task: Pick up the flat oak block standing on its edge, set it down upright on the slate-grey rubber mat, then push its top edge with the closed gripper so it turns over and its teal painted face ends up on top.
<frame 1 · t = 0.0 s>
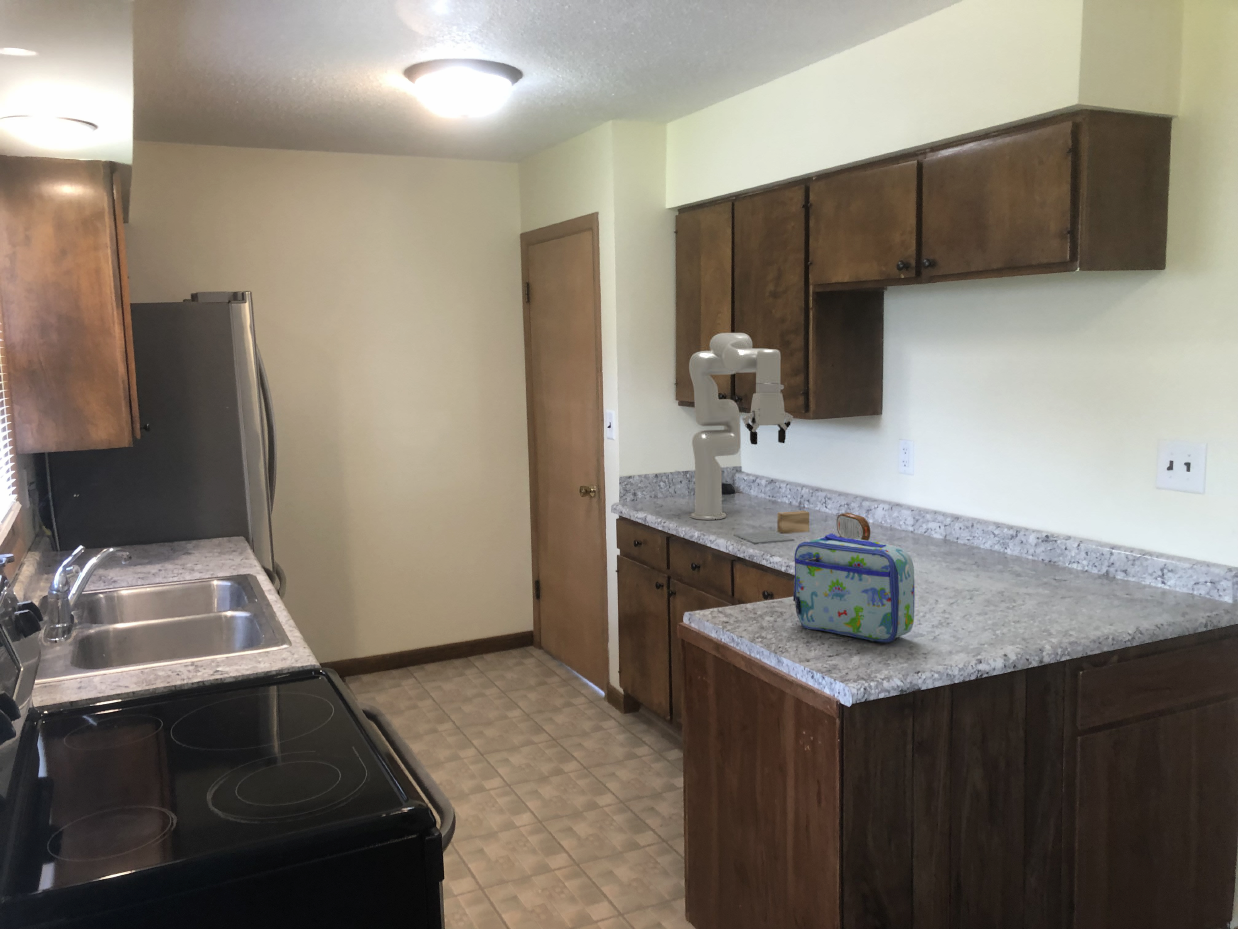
hand: (767, 443, 301), 31 cm above the worktop, tool pointing down, fingers open, 9 cm apart
block: (793, 531, 320), on the worktop
mat: (763, 537, 310), on the worktop
lunch box: (850, 633, 209), on the worktop
tin: (852, 541, 304), on the worktop
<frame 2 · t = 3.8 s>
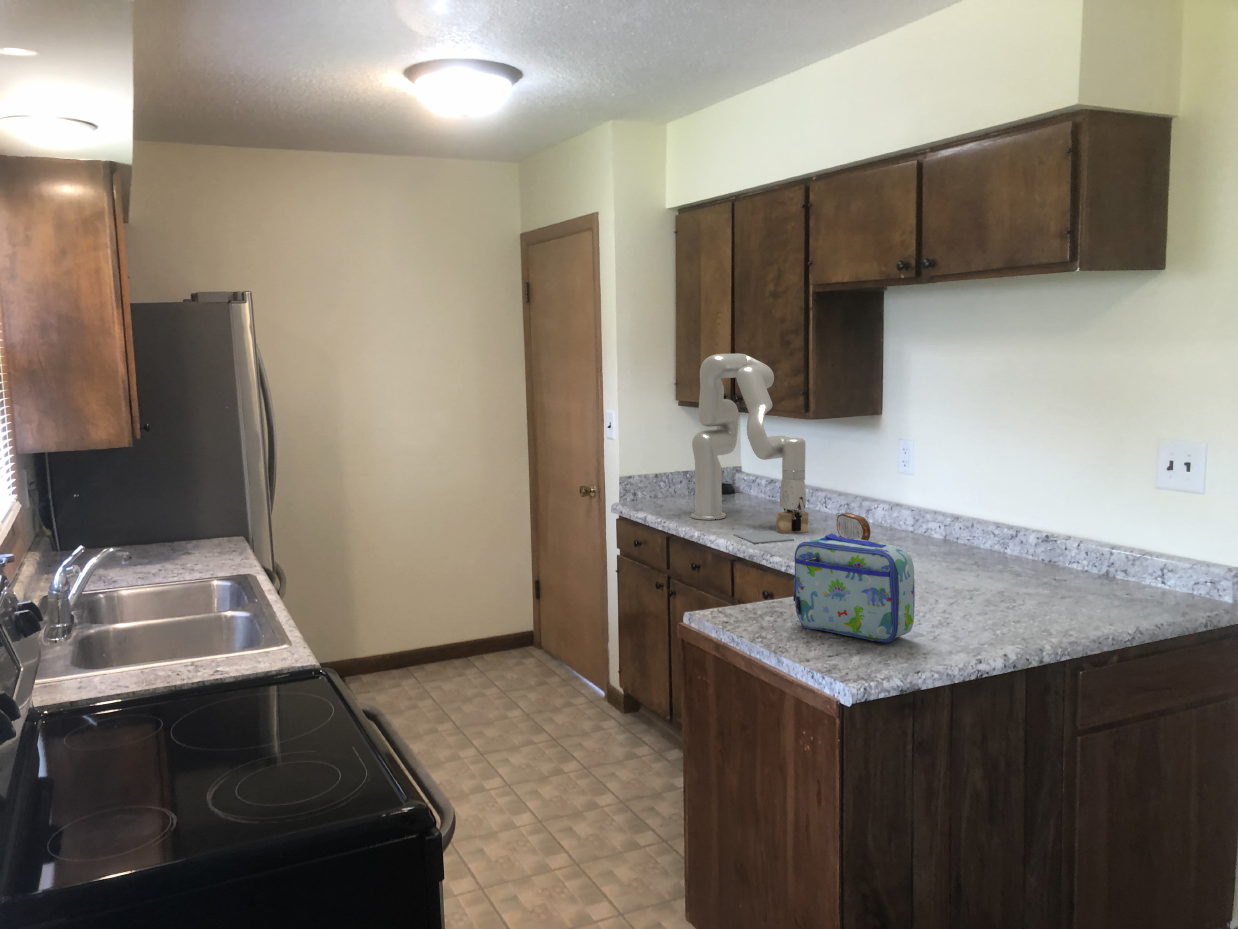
hand: (793, 529, 320), 1 cm above the worktop, tool pointing down, fingers closed on block, 3 cm apart
block: (792, 531, 319), on the worktop, touching gripper
everything else where it was.
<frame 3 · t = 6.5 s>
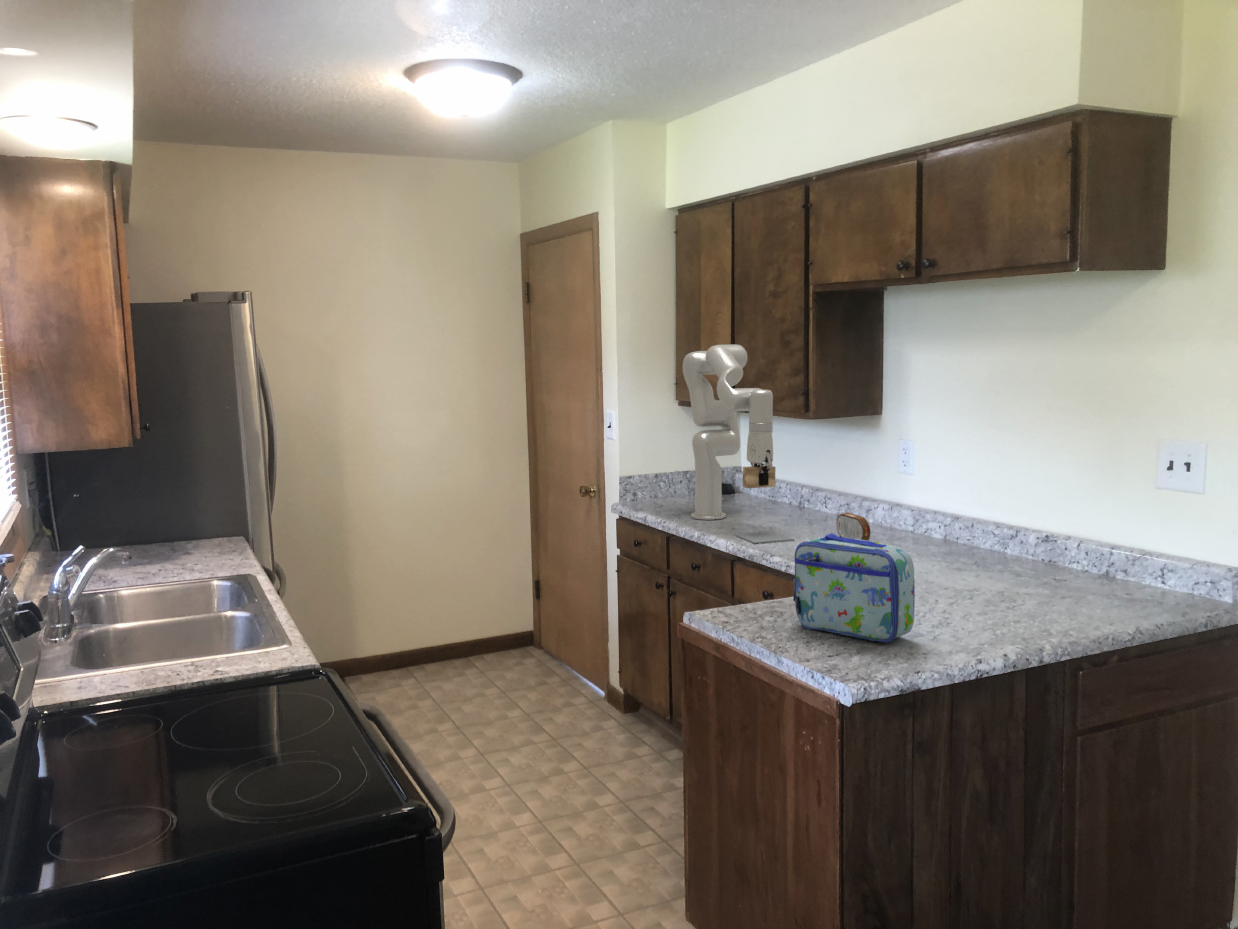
hand: (760, 483, 311), 17 cm above the worktop, tool pointing down, fingers closed on block, 3 cm apart
block: (758, 486, 311), point 16 cm above the worktop, touching gripper
everything else where it was.
when the fingers open (2 cm above the worktop, at t = 9.7 s): block stays where it is, resting on mat.
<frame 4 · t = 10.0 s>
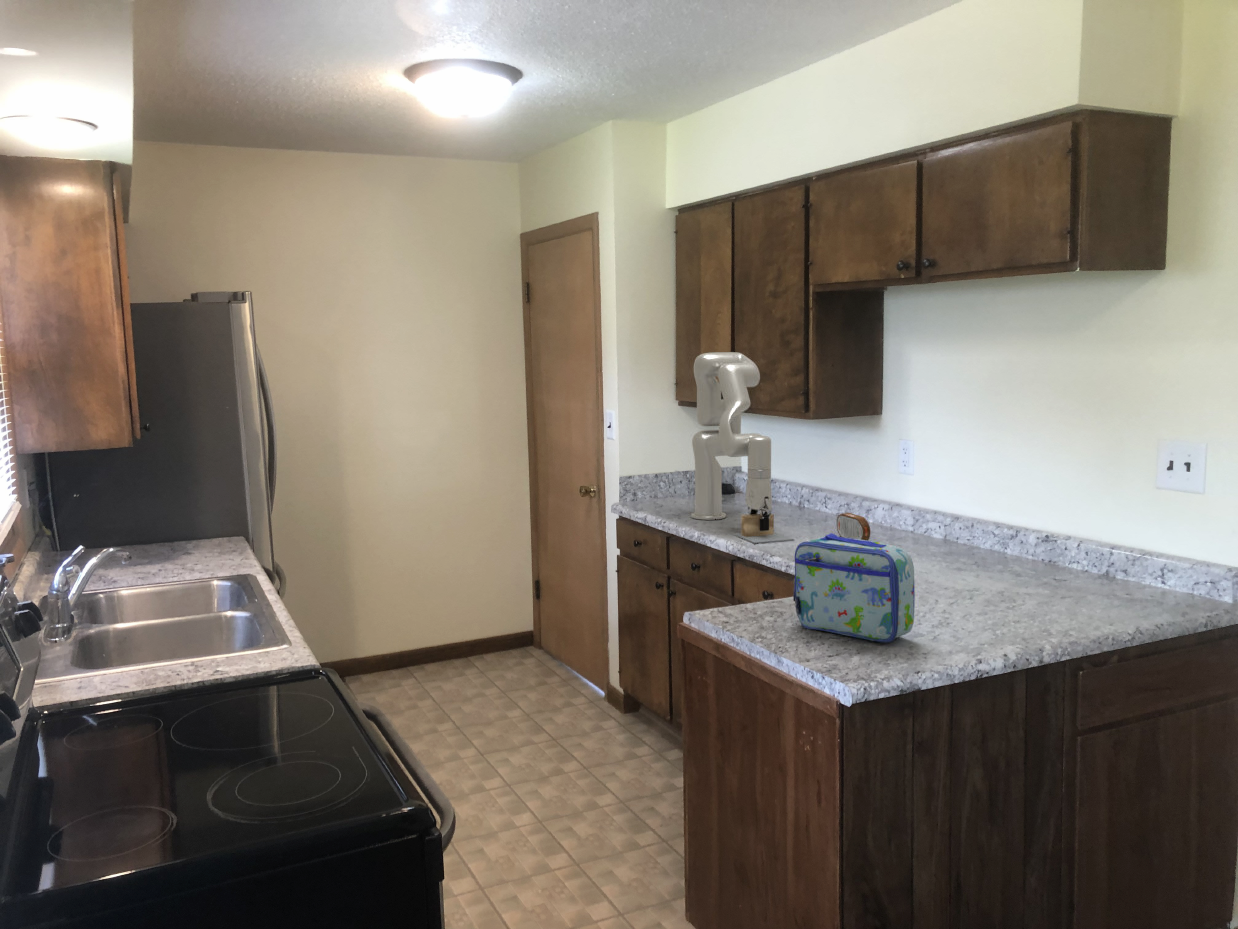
hand: (759, 528, 312), 3 cm above the worktop, tool pointing down, fingers open, 6 cm apart
block: (757, 534, 313), resting on mat
everything else where it was.
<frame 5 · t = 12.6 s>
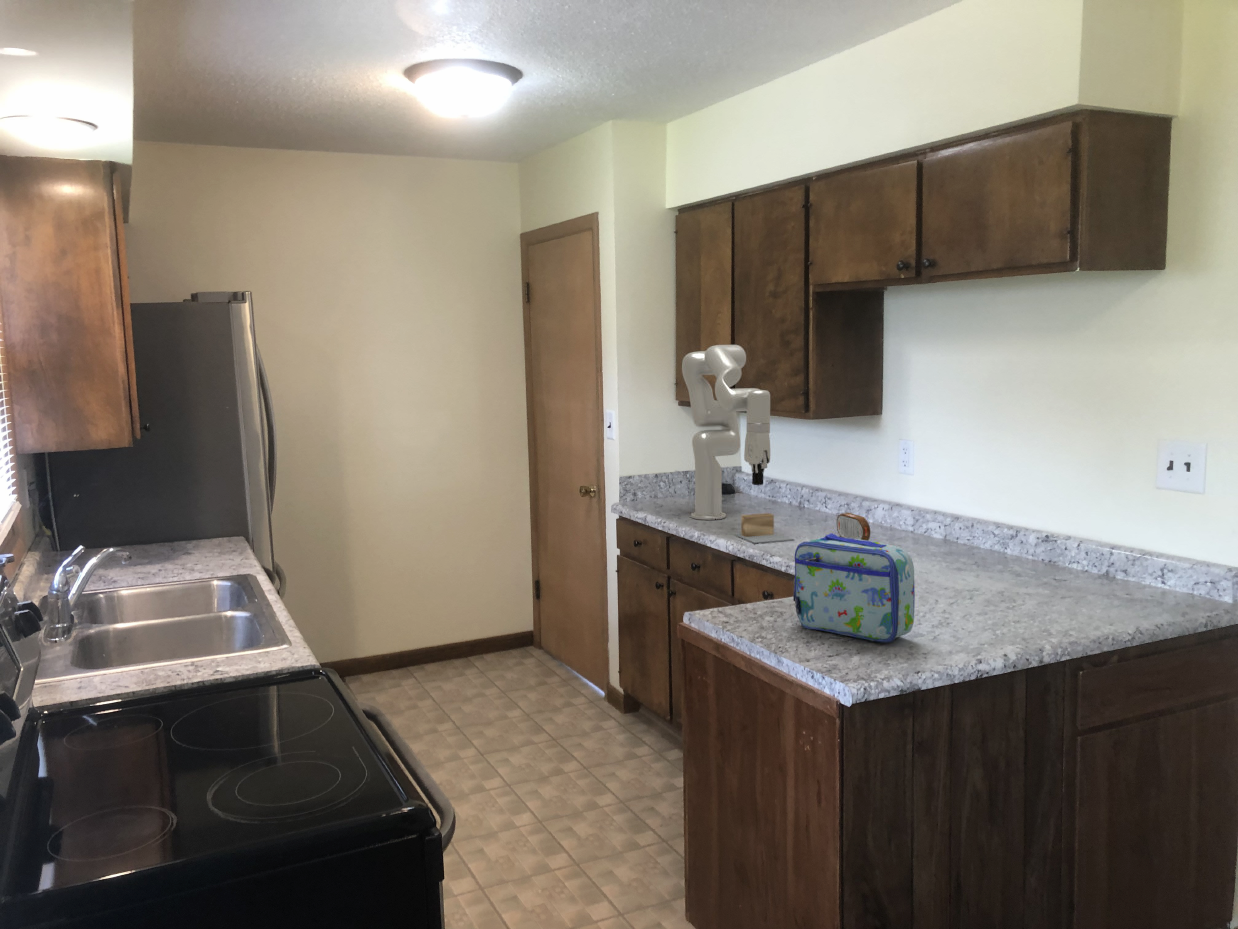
hand: (757, 484, 312), 17 cm above the worktop, tool pointing down, fingers closed
nothing on the worktop moved.
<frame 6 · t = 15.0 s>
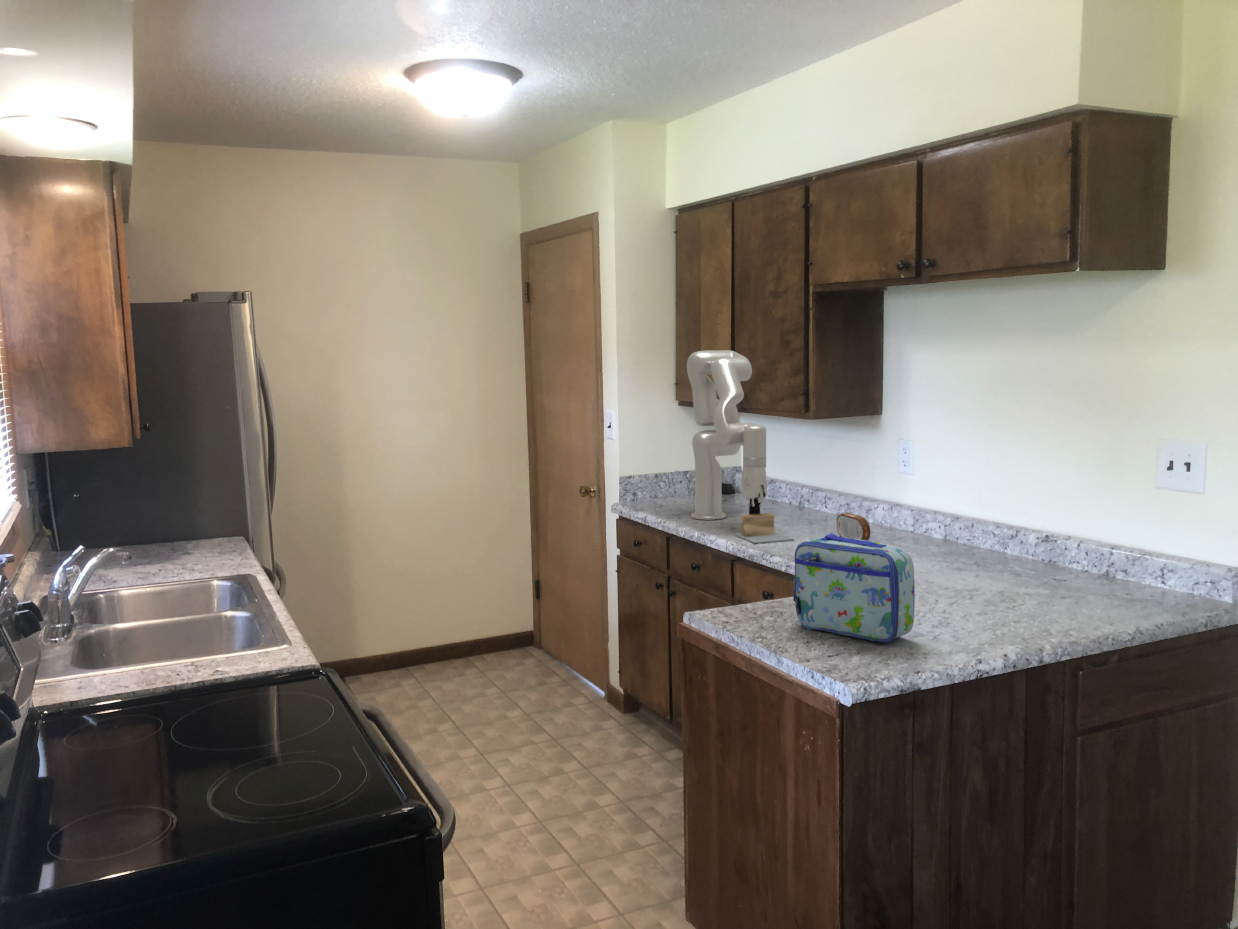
hand: (754, 518, 315), 5 cm above the worktop, tool pointing down, fingers closed
block: (757, 534, 313), point 1 cm above the worktop, touching gripper, mat
everything else where it was.
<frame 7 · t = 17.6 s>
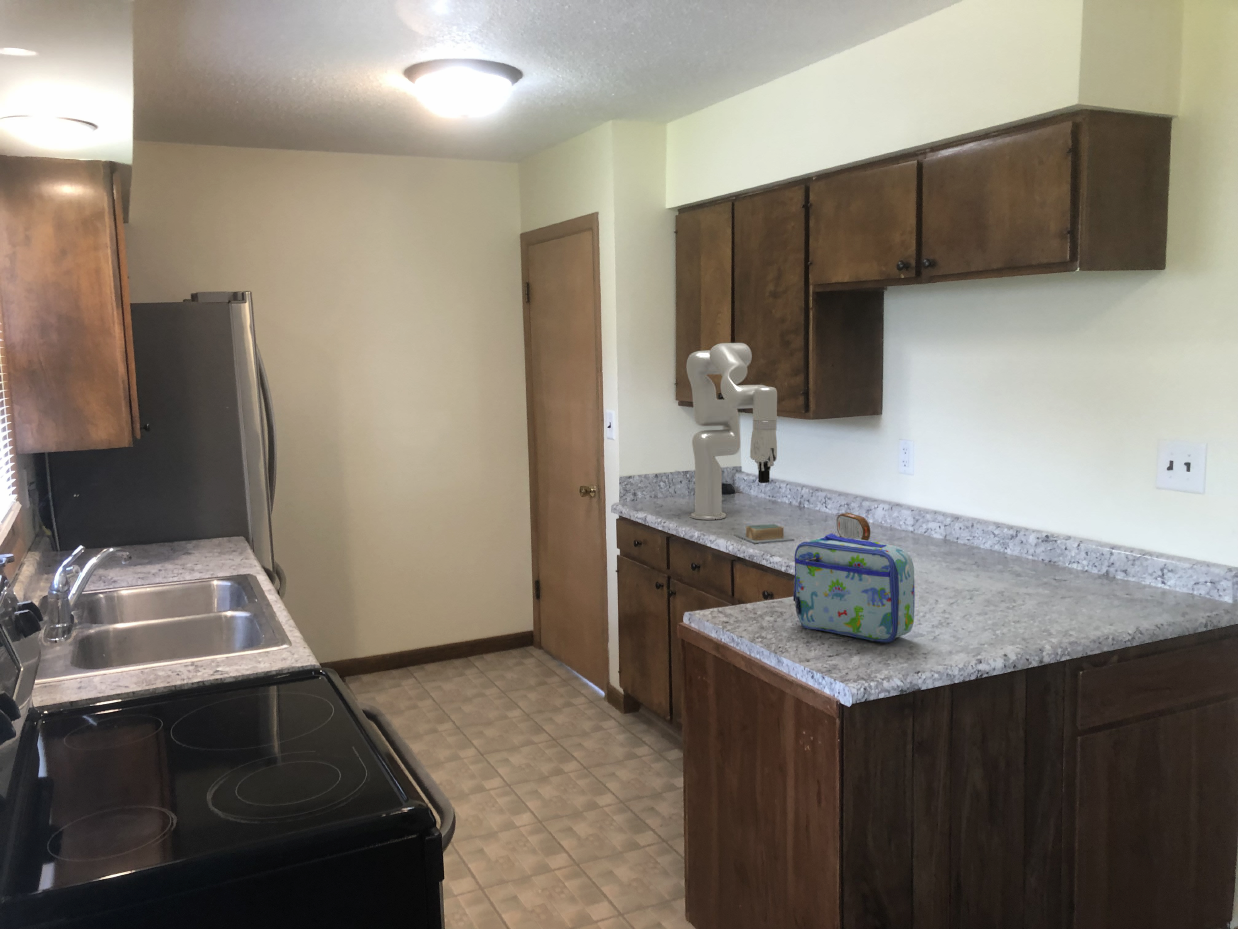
hand: (763, 482, 307), 18 cm above the worktop, tool pointing down, fingers closed
block: (759, 530, 311), point 2 cm above the worktop, tilted 90°, touching mat
everything else where it was.
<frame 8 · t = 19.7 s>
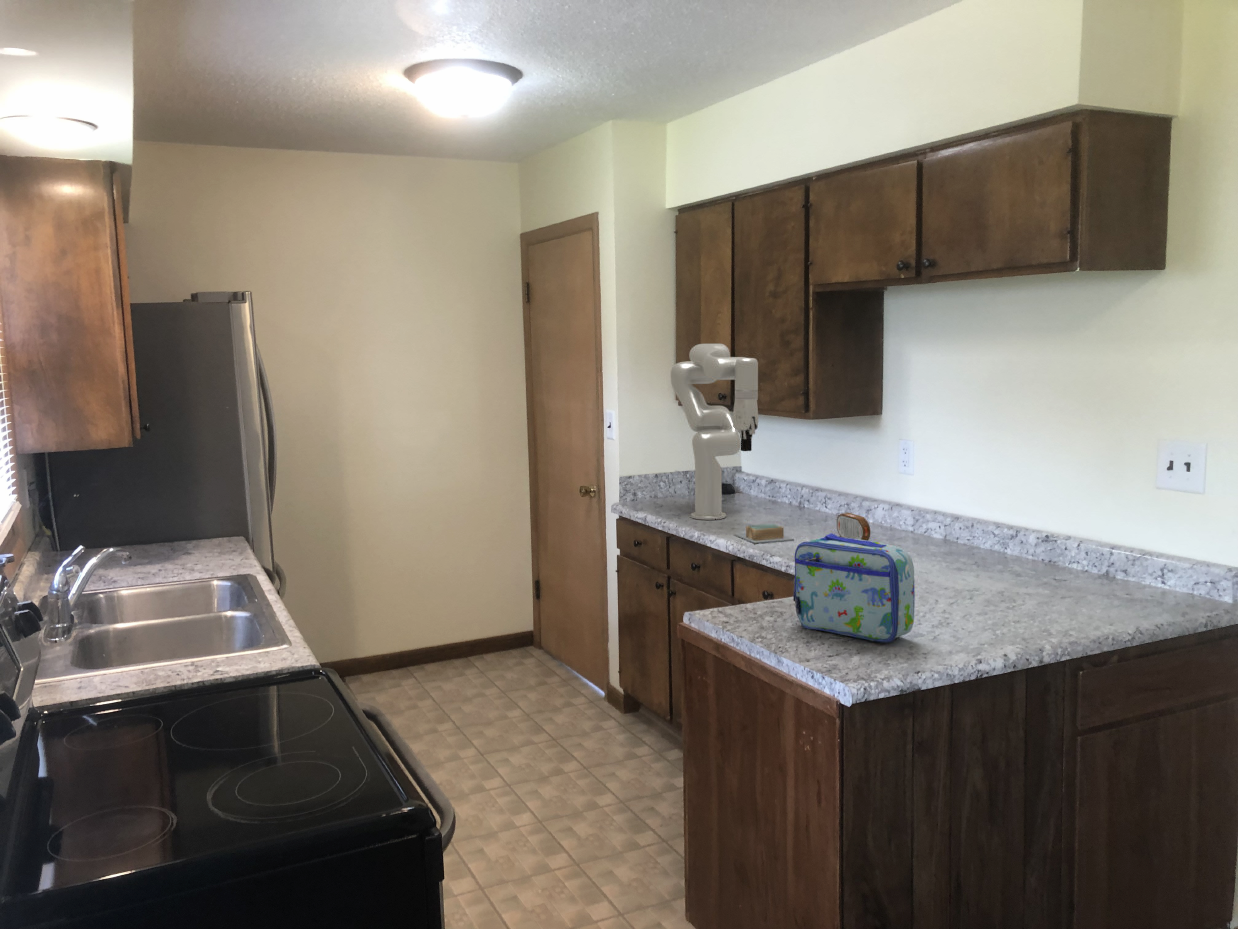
hand: (746, 450, 318), 27 cm above the worktop, tool pointing down, fingers closed
nothing on the worktop moved.
at the end: block tilted 90°; block inside the target area on the mat (1.9 cm from its centre), point 2.2 cm above the mat's base; the gripper is holding nothing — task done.
